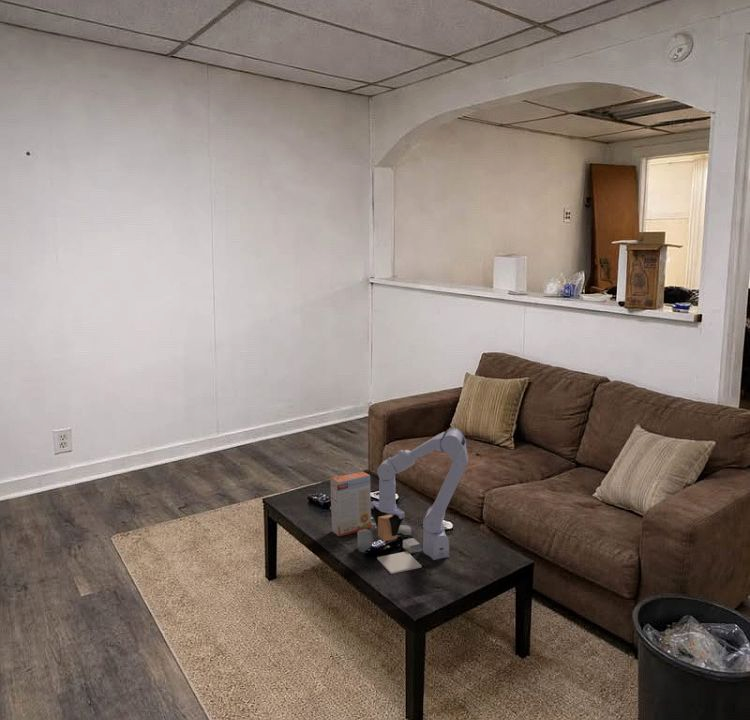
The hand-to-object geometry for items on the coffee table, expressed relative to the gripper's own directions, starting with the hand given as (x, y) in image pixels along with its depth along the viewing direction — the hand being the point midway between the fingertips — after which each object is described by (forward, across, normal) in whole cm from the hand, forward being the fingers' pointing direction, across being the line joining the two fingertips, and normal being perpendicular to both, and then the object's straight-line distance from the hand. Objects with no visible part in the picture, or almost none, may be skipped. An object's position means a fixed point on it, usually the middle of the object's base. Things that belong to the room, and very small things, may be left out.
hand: (387, 532), depth 218 cm
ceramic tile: (+5, -11, +6) cm, 14 cm away
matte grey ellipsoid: (+5, +2, -11) cm, 12 cm away
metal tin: (+5, -8, -4) cm, 10 cm away
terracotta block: (+2, 0, 0) cm, 2 cm away
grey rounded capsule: (+5, +4, +7) cm, 10 cm away
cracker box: (+5, +18, 0) cm, 19 cm away
